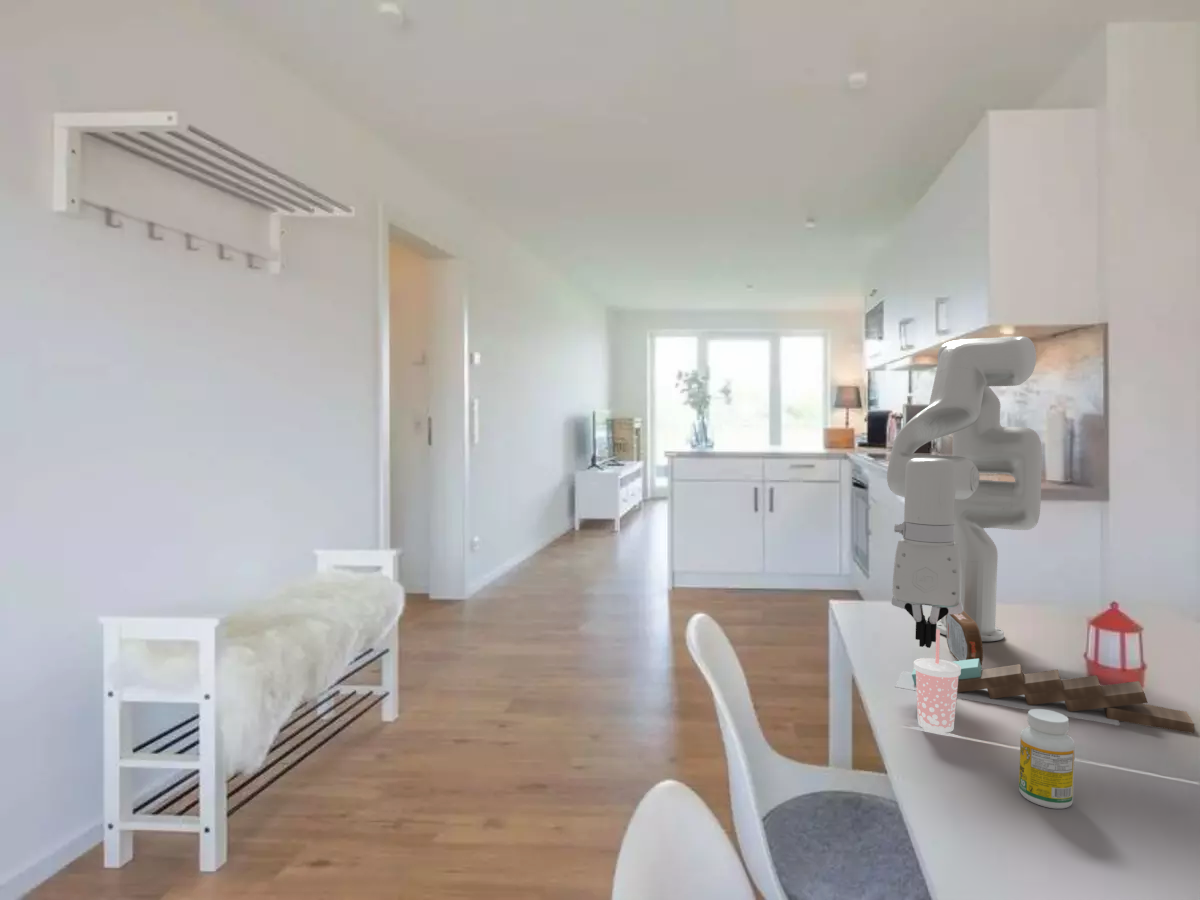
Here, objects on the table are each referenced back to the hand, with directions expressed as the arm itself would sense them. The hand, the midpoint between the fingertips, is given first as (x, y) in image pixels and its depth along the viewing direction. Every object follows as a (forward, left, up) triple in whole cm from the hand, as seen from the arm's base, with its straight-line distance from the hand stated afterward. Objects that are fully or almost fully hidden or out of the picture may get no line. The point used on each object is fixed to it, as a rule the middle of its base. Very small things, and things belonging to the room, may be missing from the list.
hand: (925, 644), depth 122 cm
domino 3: (+6, +7, -6) cm, 11 cm away
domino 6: (+17, +18, -6) cm, 25 cm away
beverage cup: (+16, -10, -7) cm, 20 cm away
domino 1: (-2, -1, -6) cm, 6 cm away
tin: (-9, +15, -7) cm, 19 cm away
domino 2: (+3, +3, -6) cm, 7 cm away
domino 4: (+10, +11, -6) cm, 15 cm away
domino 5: (+13, +14, -6) cm, 20 cm away
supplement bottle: (+36, -11, -7) cm, 38 cm away
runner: (+8, +8, -7) cm, 13 cm away
